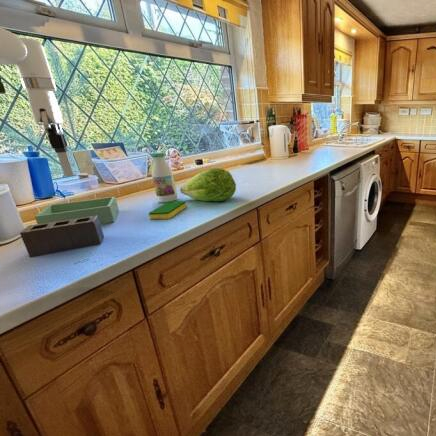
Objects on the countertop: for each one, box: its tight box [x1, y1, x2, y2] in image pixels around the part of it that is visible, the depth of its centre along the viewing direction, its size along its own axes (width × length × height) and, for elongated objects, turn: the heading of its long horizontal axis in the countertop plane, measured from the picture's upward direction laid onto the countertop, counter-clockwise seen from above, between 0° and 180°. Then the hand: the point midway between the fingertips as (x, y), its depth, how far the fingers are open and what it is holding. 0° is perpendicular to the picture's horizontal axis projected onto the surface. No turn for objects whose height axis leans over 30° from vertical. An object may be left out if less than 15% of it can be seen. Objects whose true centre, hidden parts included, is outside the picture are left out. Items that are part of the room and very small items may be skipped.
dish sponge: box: [148, 200, 187, 220], centre depth 111 cm, size 7×14×2 cm, turn 0°
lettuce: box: [179, 167, 237, 202], centre depth 124 cm, size 15×24×14 cm, turn 73°
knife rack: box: [19, 215, 105, 258], centre depth 84 cm, size 16×6×7 cm, turn 118°
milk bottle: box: [151, 151, 179, 203], centre depth 125 cm, size 8×8×20 cm
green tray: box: [34, 196, 120, 225], centre depth 105 cm, size 20×15×6 cm
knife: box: [54, 129, 75, 178], centre depth 98 cm, size 3×2×15 cm
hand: (59, 147), depth 97 cm, fingers closed on knife, 2 cm apart
